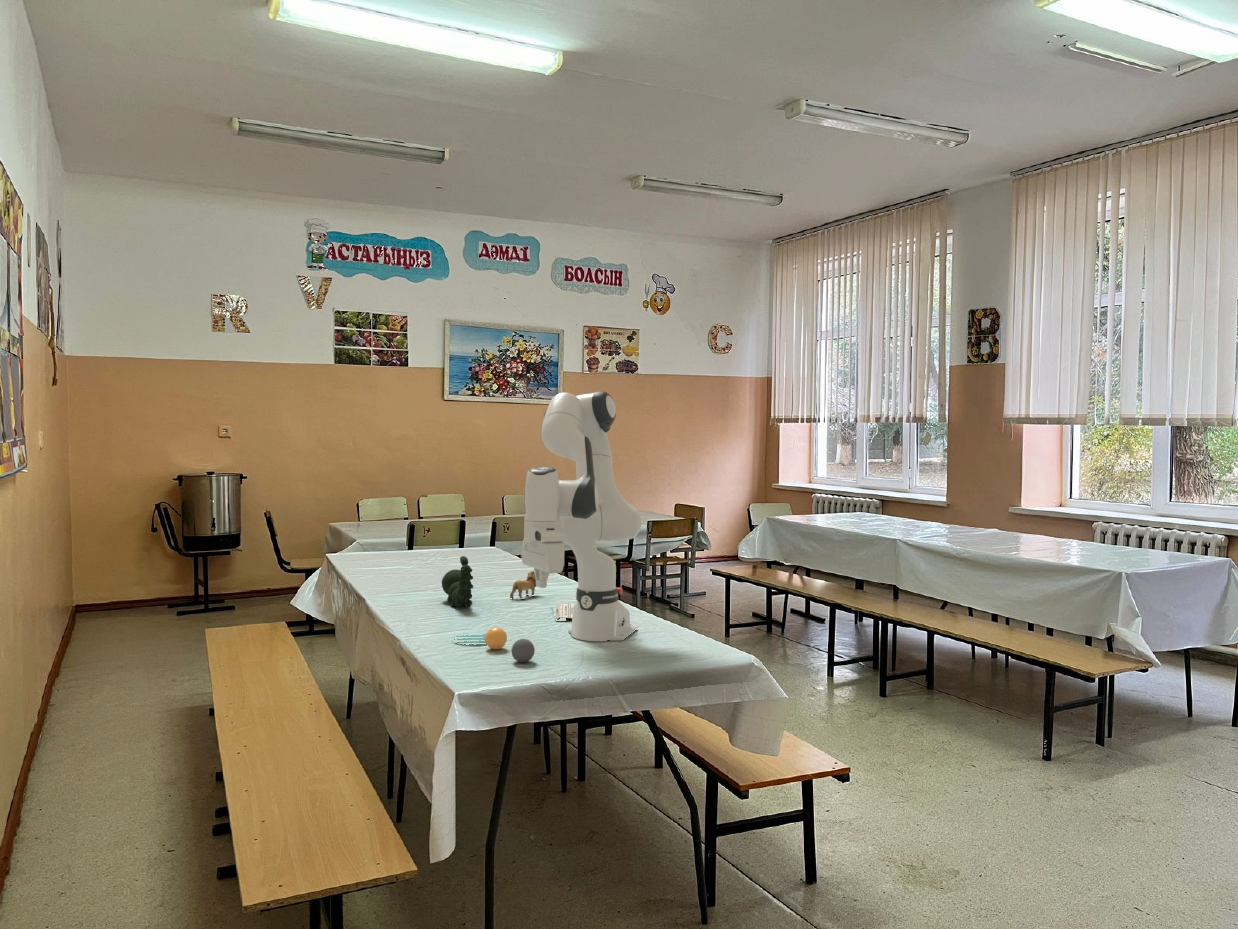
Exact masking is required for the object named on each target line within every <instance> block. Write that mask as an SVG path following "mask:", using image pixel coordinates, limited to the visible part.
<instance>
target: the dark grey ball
mask: <svg viewBox="0 0 1238 929" xmlns="http://www.w3.org/2000/svg"><path fill="white" fill-rule="evenodd" d="M534 645H535V644H534V643H532V641H531V640H529V639H526V638H520V639H518V640H516V641H514V643H513V644H512V646H511V657H513V660H515V661H516V662H518V663H528V662H529V661H531V660H532V658H533V657H534V655H535V651H536V650H535V646H534Z"/></svg>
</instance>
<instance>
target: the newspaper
mask: <svg viewBox="0 0 1238 929" xmlns="http://www.w3.org/2000/svg"><path fill="white" fill-rule="evenodd" d="M573 604H574V603H558V604H556V607H557V609H556V619H557V620H559V619H560V618H567V619H572V616H573V606H574V605H573ZM556 619H555V620H556Z"/></svg>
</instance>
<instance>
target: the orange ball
mask: <svg viewBox="0 0 1238 929" xmlns="http://www.w3.org/2000/svg"><path fill="white" fill-rule="evenodd" d="M485 642H486V644H487V645H486V646H487V647H488V648H490V649H491V650H501V649H502V648H503V647H504V646H506V644H507V642H508V635H507V632H506V631H505V629H503V628H501V627H498V626H497V627H491V628H490V629H488V630H487V632H486V636H485Z"/></svg>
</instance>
